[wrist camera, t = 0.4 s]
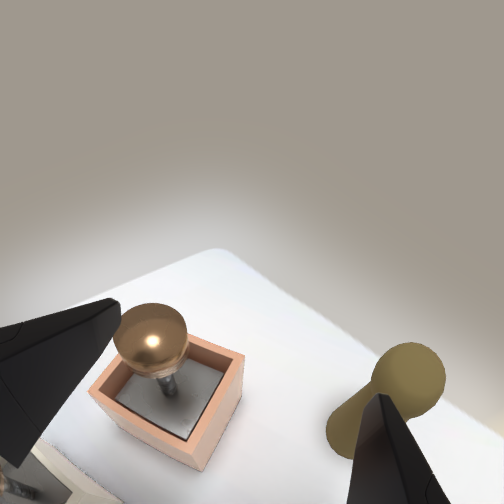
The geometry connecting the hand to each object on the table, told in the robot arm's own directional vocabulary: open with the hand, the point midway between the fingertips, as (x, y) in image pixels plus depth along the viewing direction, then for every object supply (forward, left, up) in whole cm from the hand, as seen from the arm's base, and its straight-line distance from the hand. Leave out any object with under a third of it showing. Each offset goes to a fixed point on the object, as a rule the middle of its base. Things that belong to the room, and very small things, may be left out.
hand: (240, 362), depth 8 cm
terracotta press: (+2, +6, -16) cm, 17 cm away
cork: (+6, -9, -16) cm, 19 cm away
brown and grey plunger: (+2, +6, -12) cm, 13 cm away
